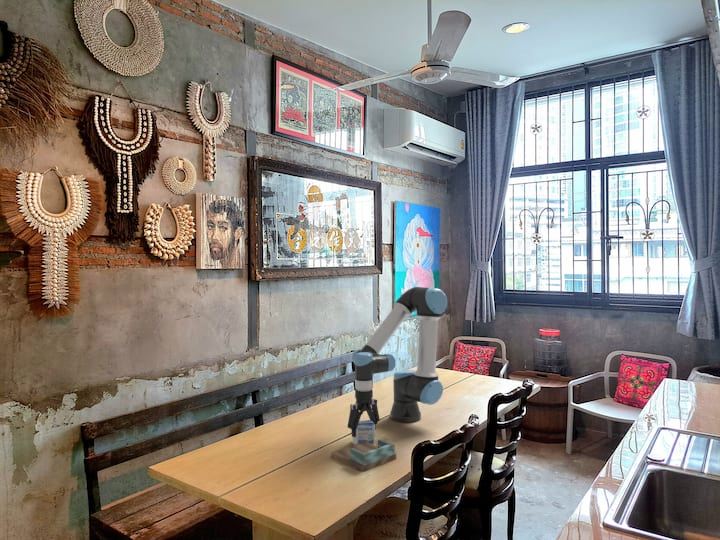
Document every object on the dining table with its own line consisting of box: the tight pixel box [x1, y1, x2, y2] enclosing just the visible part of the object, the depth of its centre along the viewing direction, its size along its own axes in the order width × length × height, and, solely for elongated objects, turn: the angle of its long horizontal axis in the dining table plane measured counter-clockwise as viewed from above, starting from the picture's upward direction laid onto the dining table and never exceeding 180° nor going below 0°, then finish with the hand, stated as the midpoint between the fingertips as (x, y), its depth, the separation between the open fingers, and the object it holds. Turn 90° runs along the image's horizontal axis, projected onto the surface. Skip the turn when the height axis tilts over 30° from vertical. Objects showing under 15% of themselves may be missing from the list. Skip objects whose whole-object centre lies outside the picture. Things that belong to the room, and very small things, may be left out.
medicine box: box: [357, 419, 375, 444], centre depth 215 cm, size 8×4×9 cm, turn 105°
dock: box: [331, 438, 397, 473], centre depth 198 cm, size 18×18×6 cm
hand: (363, 441), depth 215 cm, fingers open, 9 cm apart
